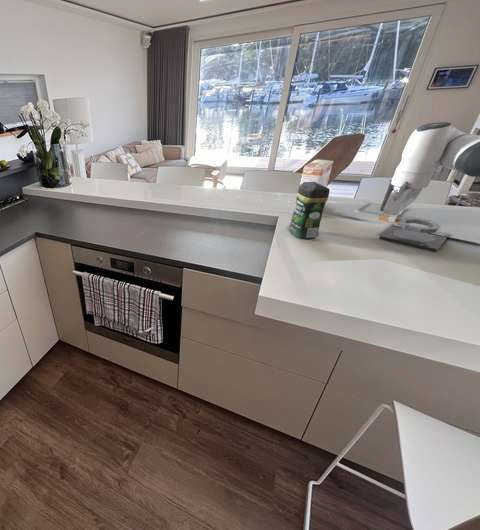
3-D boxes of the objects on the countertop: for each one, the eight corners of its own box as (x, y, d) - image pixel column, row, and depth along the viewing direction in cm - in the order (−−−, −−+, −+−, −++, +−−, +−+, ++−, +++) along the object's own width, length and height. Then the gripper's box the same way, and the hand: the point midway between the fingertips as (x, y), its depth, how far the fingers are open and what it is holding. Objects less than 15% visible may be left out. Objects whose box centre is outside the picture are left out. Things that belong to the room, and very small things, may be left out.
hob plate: (447, 238, 94) (448, 235, 94) (435, 252, 87) (437, 249, 87) (393, 226, 104) (394, 224, 104) (379, 238, 98) (380, 235, 97)
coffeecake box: (304, 203, 131) (315, 159, 121) (322, 206, 127) (335, 160, 117) (292, 213, 123) (303, 166, 113) (311, 216, 118) (324, 167, 108)
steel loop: (441, 226, 93) (443, 222, 92) (433, 235, 88) (435, 231, 87) (382, 215, 104) (384, 211, 103) (372, 222, 99) (374, 218, 98)
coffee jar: (284, 229, 110) (295, 180, 100) (306, 228, 109) (319, 179, 99) (296, 240, 101) (310, 188, 92) (320, 239, 100) (336, 186, 91)
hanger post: (406, 212, 114) (422, 175, 107) (396, 220, 108) (412, 182, 101) (369, 205, 123) (382, 171, 115) (358, 213, 117) (371, 177, 110)
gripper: (413, 188, 84) (394, 231, 91) (433, 174, 94) (414, 214, 101) (386, 184, 88) (370, 226, 95) (407, 172, 98) (391, 210, 105)
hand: (393, 220), depth 98 cm, fingers closed on steel loop, 1 cm apart
